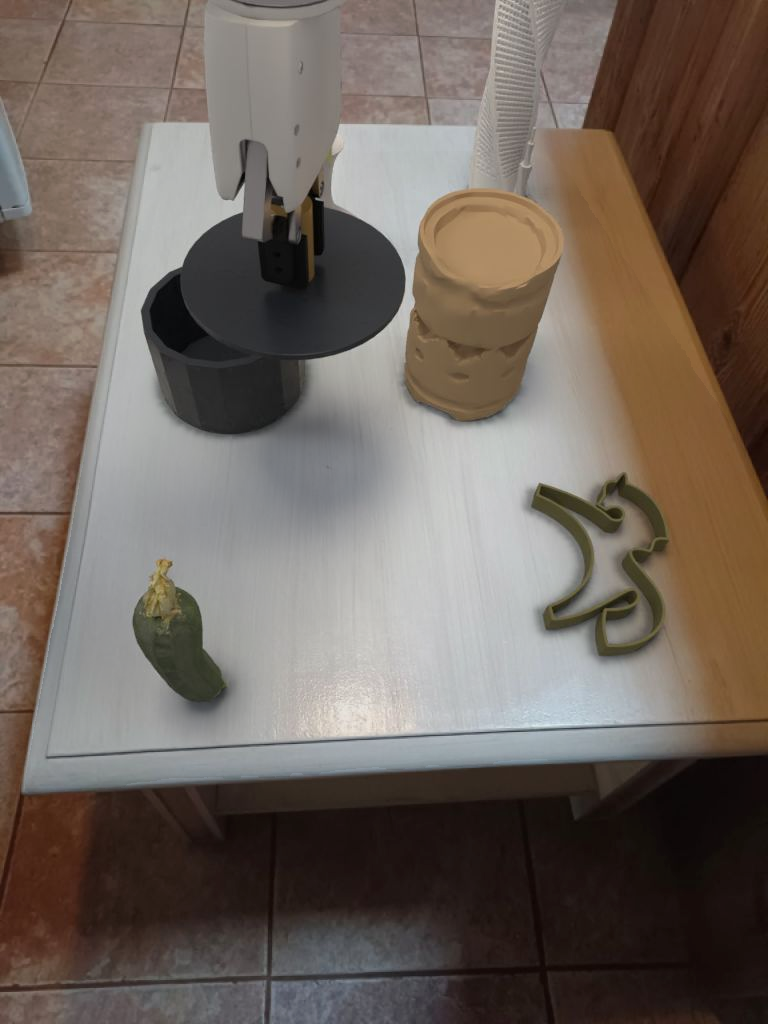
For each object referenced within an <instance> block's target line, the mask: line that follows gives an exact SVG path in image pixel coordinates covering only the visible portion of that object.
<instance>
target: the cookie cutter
mask: <svg viewBox="0 0 768 1024" xmlns="http://www.w3.org/2000/svg"><path fill="white" fill-rule="evenodd" d="M616 487H617V489H618V496H619V497H622V498H624V499H626V500H628V501H630V502H631V503H633V504H634V505H636V506H637V507H639V508H640V509H641V510H642V511H643V513H644V514H645V515H646V516H647V518H648V519H649V521H650V523H651V525H652V527H653V530H654V533H655V536H656V537H655V538H653V540H652V541H651V542H650V544H649V545H648V547H631V548H630V549H629V550H628V552H627V553H626V555H625V556H624V557H623V559H622V560H621V566H622V568H623V569H624V571H625V573H626V574H627V575H628V578H630V579H631V581H632V582H633V583H634V584H635V586H637V588H638V589H639V590H640V591H641V592H642V594H643V595H644V597H645V598H646V600H647V601H648V603H649V605H650V608H651V611H652V614H653V626H652V629H651V631H650V633H649V634H647V636H645V637H643V638H641V639H638V640H635V641H632V642H626V643H609V640H608V634H607V628H606V627H607V625H606V621H614V620H618V619H622V618H625V617H626V616H628V615H629V614H630V613H631V612H632V610H633V609H634V608H635V607H636V605H638V603H639V602H640V599H641V593H640V591H639V590H638V589H637V588H635V587H629V588H626V589H624V590H622V591H620V592H618V593H617V594H614V595H613V596H612V597H609V598H608V599H606V600H604V601H602V602H600V603H599V604H597V605H594V606H592V607H590V608H588V609H586V610H583V611H580V612H576V613H573V614H570V615H566V616H564V615H563V616H557V617H556V616H555V613H557V612H559V611H560V610H562V609H564V608H565V607H567V606H568V605H569V604H570V603H572V602H573V601H574V600H575V599H576V597H577V596H578V595H579V594H580V592H581V590H583V588H584V586H585V585H586V583H587V582H588V580H589V578H590V577H591V574H592V571H593V568H594V565H595V549H594V545H593V542H592V539H591V537H590V535H589V533H588V531H587V530H586V528H585V527H584V526H583V524H582V523H581V522H580V521H579V520H578V518H576V516H575V515H574V514H573V513H571V512H570V511H573V512H575V513H577V514H578V515H580V516H582V517H584V518H585V519H587V520H588V521H590V522H592V523H593V524H595V526H597V527H598V528H600V529H601V530H602V531H603V532H605V533H614V532H616V531H617V530H618V529H619V527H620V525H621V524H622V523H623V521H624V519H625V518H626V510H625V509H624V508H623V507H621V506H619V505H609V506H607V507H605V506H604V505H602V503H603V501H604V500H605V498H606V496H607V495H611V493H612V492H613V491H614V489H616ZM530 506H531V507H530V508H532V509H535V510H537V511H539V512H542V513H543V514H545V515H547V516H549V517H550V518H552V519H553V520H555V521H556V522H558V523H559V524H560V525H561V526H563V527H564V528H565V529H566V530H567V531H568V532H569V533H570V534H571V535H572V537H573V538H574V540H576V543H577V544H578V546H579V548H580V550H581V553H582V556H583V561H584V573H583V577H582V581H581V583H580V585H578V587H576V588H575V589H574V590H573V591H572V592H571V593H569V594H568V595H566V596H564V597H563V598H561V599H559V600H557V601H555V602H552V603H549V604H548V605H547V606H546V608H545V609H544V611H543V613H542V618H543V622H544V626H545V629H546V630H559V629H565V628H568V627H571V626H574V625H577V624H580V623H582V622H584V621H587V620H589V619H591V618H593V617H595V616H597V615H598V614H599V615H598V616H597V618H596V620H595V621H596V622H595V629H594V631H595V632H594V634H595V635H594V636H595V644H596V649H597V653H598V656H601V657H603V656H604V657H606V656H607V657H610V656H611V657H613V656H621V655H626V654H629V653H632V652H635V651H637V650H639V649H641V648H643V647H644V646H645V645H646V644H647V643H648V642H649V641H650V640H652V639H653V637H654V636H655V635H656V634H657V633H658V632H659V631H660V629H661V628H662V626H663V625H664V622H665V620H666V612H667V611H666V610H667V609H666V604H665V600H664V598H663V594H662V593H661V591H660V590H659V587H658V586H657V585H656V583H655V582H654V581H653V580H652V578H651V577H650V576H649V574H647V572H646V571H645V570H644V569H643V568H642V566H641V565H640V564H639V563H643V562H645V561H646V559H647V558H648V556H649V555H650V554H651V552H653V551H657V552H658V551H659V552H662V551H663V549H664V548H666V545H667V544H668V543H669V542H670V532H669V528H668V523H667V520H666V517H665V514H664V512H663V510H662V509H661V507H660V505H659V504H658V503H657V501H656V500H655V499H654V497H652V496H651V495H650V493H647V492H646V491H645V490H644V489H642V488H641V487H639V486H637V485H635V484H632V483H631V482H629V477H628V473H627V472H626V471H622V472H621V473H619V475H618V476H616V478H615V479H609V480H607V481H606V482H605V483H604V484H603V486H602V488H601V489H600V491H599V493H598V495H597V497H596V505H595V504H593V503H591V502H590V501H588V500H586V499H584V498H583V497H580V496H578V495H575V494H573V493H570V492H568V491H565V490H563V489H561V488H557V487H555V486H553V485H548V484H546V483H542V482H538V484H537V487H536V489H535V490H534V494H533V497H532V501H531V505H530ZM569 510H570V511H569ZM623 601H627V602H628V605H626V606H625V605H624V606H620V607H613V606H615V605H616V604H618V603H620V602H623Z"/></svg>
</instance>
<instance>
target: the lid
mask: <svg viewBox="0 0 768 1024" xmlns="http://www.w3.org/2000/svg"><path fill="white" fill-rule="evenodd" d="M301 211H302V234H304V235H307V238H308V264H309V283H308V285H307V288H306V289H298V288H293V287H289V286H284V285H280V284H275V283H271V282H267V281H265V280H263V279H262V277H261V269H260V259H259V250H258V241H253V240H248V239H244V238H243V237H242V221H243V211H241V212H239V213H236V214H233V215H231V216H229V217H227V218H224V219H223V220H221V221H219V222H217V223H216V224H214V225H212V226H211V227H210V228H208V230H206V231H205V232H203V233H202V234H201V236H199V238H197V240H196V241H194V243H193V244H192V246H190V248H189V249H188V251H187V253H186V254H185V257H184V260H183V262H182V266H181V267H182V269H181V277H180V283H181V291H182V295H183V299H184V302H185V305H186V307H187V309H188V311H189V313H190V315H191V316H192V317H193V318H194V320H195V321H196V322H197V324H198V325H199V326H200V327H201V328H202V329H204V330H205V331H206V332H207V333H208V334H209V335H211V336H212V337H214V338H215V339H216V340H218V341H220V342H222V343H223V344H225V345H227V346H229V347H231V348H234V349H236V350H239V351H241V352H244V353H247V354H251V355H254V356H258V357H264V358H269V359H278V360H305V361H308V360H316V359H317V360H318V359H323V358H327V357H331V356H333V357H334V356H336V355H340V354H342V353H346V352H349V351H352V350H353V349H356V348H357V347H359V346H362V345H364V344H366V343H367V342H369V341H371V340H372V339H374V338H375V337H376V336H377V335H379V334H380V333H381V332H383V331H384V330H385V329H386V328H387V327H388V325H390V324H391V322H393V320H394V318H395V317H396V316H397V314H398V312H399V311H400V308H401V306H402V303H403V301H404V296H405V293H406V280H407V277H406V270H405V266H404V263H403V260H402V258H401V256H400V254H399V251H398V250H397V249H396V247H395V246H394V244H393V243H392V242H391V240H389V239H388V238H387V237H386V236H385V235H384V234H383V233H382V232H381V231H380V230H379V229H377V228H376V227H374V226H373V225H371V224H370V223H368V222H366V221H364V220H363V219H361V218H359V217H357V216H356V217H354V216H352V215H350V214H347V213H344V212H341V211H338V210H334V209H330V208H327V207H324V239H325V248H324V251H323V253H322V255H319V256H315V255H314V239H313V206H312V200H311V199H310V197H309V196H308V195H307V196H306V198H305V199H304V201H303V203H302V204H301ZM271 214H274V215H279V216H283V217H284V218H286V219H287V213H286V212H285V209H284V208H282V207H281V206H278V205H273V204H271Z"/></svg>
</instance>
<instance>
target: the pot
mask: <svg viewBox="0 0 768 1024" xmlns="http://www.w3.org/2000/svg"><path fill="white" fill-rule="evenodd" d="M181 269H182V266H180V267H178V268H175V269H173V270H171V271H168V273H166V274H165V275H164V276H163V277H162V278H161V279H159V280H158V281H157V282H156V283H155V284H154V285H153V286H152V287H150V289H149V290H148V293H147V295H146V297H145V299H144V302H143V304H142V306H141V309H140V316H141V322H142V329H143V334H144V338H145V341H146V345H147V347H148V351H149V355H150V357H151V360H152V364H153V367H154V371H155V373H156V376H157V380H158V383H159V387H160V391H161V393H162V396H163V399H164V400H165V401H166V403H167V405H168V406H169V408H170V409H171V410H172V412H174V414H175V415H176V416H177V417H179V418H180V419H181V420H182V421H184V422H185V423H187V424H189V425H190V426H192V427H194V428H197V429H199V430H203V431H206V432H211V433H215V434H227V435H231V434H234V435H235V434H244V433H250V432H253V431H256V430H260V429H263V428H266V427H268V426H271V425H272V424H274V423H276V422H277V421H279V420H280V419H282V418H283V417H284V416H285V415H287V414H288V413H289V412H290V411H291V410H292V409H294V406H295V405H296V404H297V402H298V401H299V399H300V397H301V395H302V393H303V389H304V386H305V379H306V378H305V377H306V360H278V359H269V358H264V357H258V356H254V355H251V354H247V353H244V352H241V351H239V350H236V349H234V348H231V347H229V346H227V345H225V344H223V343H222V342H220V341H218V340H216V339H215V338H214V337H212V336H211V335H209V334H208V333H207V332H206V331H205V330H204V329H202V328H201V327H200V326H199V325H198V324H197V322H196V321H195V320H194V318H193V317H192V316H191V315H190V313H189V311H188V309H187V307H186V305H185V302H184V299H183V295H182V291H181V283H180V277H181Z"/></svg>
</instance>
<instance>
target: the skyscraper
mask: <svg viewBox="0 0 768 1024" xmlns="http://www.w3.org/2000/svg"><path fill="white" fill-rule="evenodd" d="M566 2H567V0H495V5H494V14H493V23H492V34H491V47H490V64H489V65H490V66H489V71H488V75H487V78H486V82H485V85H484V89H483V93H482V98H481V103H480V106H479V112H478V116H477V122H476V127H475V132H474V133H475V134H474V140H473V147H472V154H471V163H470V171H469V178H468V179H469V180H468V189H473V188H488V189H497V190H503V191H508V192H511V193H515V194H518V195H520V196H523V197H526V192H527V185H528V180H529V177H530V174H531V171H532V169H533V166H534V164H532V162H531V159H532V154H533V150H534V147H535V144H536V142H534V140H535V135H536V132H537V127H536V126H537V120H538V113H539V105H540V104H539V103H540V92H541V70H542V68H543V67H542V66H543V65H544V62H545V61H546V57H547V55H548V52H549V50H550V48H551V45H552V42H553V41H554V37H555V34H556V31H557V29H558V26H559V24H560V20H561V18H562V15H563V12H564V9H565V6H566V4H567V3H566Z"/></svg>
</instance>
